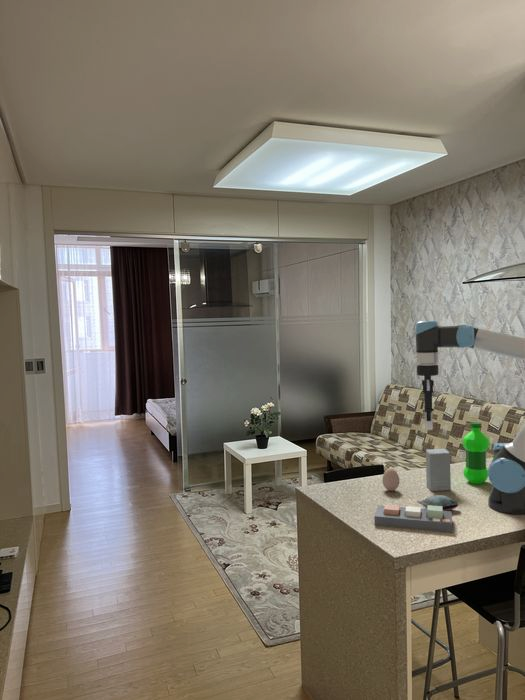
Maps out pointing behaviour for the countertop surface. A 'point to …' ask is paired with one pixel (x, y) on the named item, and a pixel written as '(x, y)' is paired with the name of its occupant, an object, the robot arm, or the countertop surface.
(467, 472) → the plastic bottle
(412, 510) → the cream key
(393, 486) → the egg
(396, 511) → the terracotta key
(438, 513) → the sage key
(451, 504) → the packaged food
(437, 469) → the skincare box
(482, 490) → the countertop surface
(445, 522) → the keypad board
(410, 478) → the countertop surface
